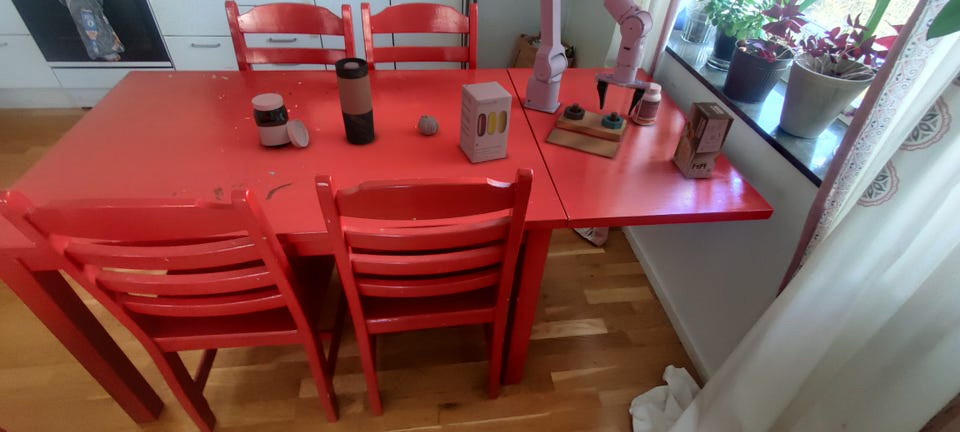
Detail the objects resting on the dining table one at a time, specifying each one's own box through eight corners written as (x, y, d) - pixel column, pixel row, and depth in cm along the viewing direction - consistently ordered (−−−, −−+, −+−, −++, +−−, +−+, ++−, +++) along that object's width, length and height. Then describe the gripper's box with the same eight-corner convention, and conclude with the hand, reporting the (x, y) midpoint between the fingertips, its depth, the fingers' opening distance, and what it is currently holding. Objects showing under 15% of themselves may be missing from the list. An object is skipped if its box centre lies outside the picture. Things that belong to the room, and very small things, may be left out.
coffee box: (710, 178, 113) (736, 119, 103) (685, 178, 113) (709, 119, 103) (694, 158, 121) (716, 101, 110) (670, 158, 120) (691, 101, 110)
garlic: (413, 134, 123) (412, 117, 120) (422, 126, 127) (421, 108, 124) (433, 139, 122) (433, 121, 118) (442, 130, 126) (442, 113, 122)
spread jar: (260, 135, 119) (248, 92, 112) (306, 128, 123) (297, 87, 116) (263, 158, 111) (250, 114, 103) (312, 150, 114) (303, 107, 107)
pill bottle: (657, 123, 136) (669, 87, 129) (643, 127, 133) (654, 91, 126) (641, 114, 140) (651, 79, 133) (627, 119, 137) (637, 83, 130)
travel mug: (380, 134, 122) (373, 60, 110) (366, 148, 117) (356, 71, 104) (355, 128, 124) (345, 55, 112) (340, 141, 118) (327, 65, 106)
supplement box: (472, 164, 113) (475, 100, 103) (458, 146, 120) (459, 84, 109) (506, 157, 116) (513, 95, 106) (491, 140, 123) (496, 79, 112)
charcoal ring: (561, 117, 131) (562, 111, 130) (567, 109, 135) (568, 104, 134) (580, 122, 129) (582, 116, 128) (585, 114, 134) (586, 108, 132)
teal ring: (599, 126, 128) (601, 120, 127) (603, 118, 132) (605, 112, 131) (619, 131, 126) (621, 125, 125) (623, 122, 130) (625, 117, 129)
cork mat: (545, 141, 124) (545, 140, 123) (554, 129, 129) (554, 128, 129) (612, 158, 119) (612, 157, 118) (617, 144, 124) (618, 143, 124)
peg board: (556, 126, 131) (559, 108, 127) (565, 112, 138) (568, 95, 135) (619, 141, 126) (624, 123, 122) (625, 126, 133) (630, 109, 130)
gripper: (596, 62, 117) (586, 111, 126) (654, 73, 113) (639, 123, 122) (602, 53, 122) (591, 101, 131) (657, 64, 118) (643, 112, 127)
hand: (615, 111), depth 127 cm, fingers open, 7 cm apart
